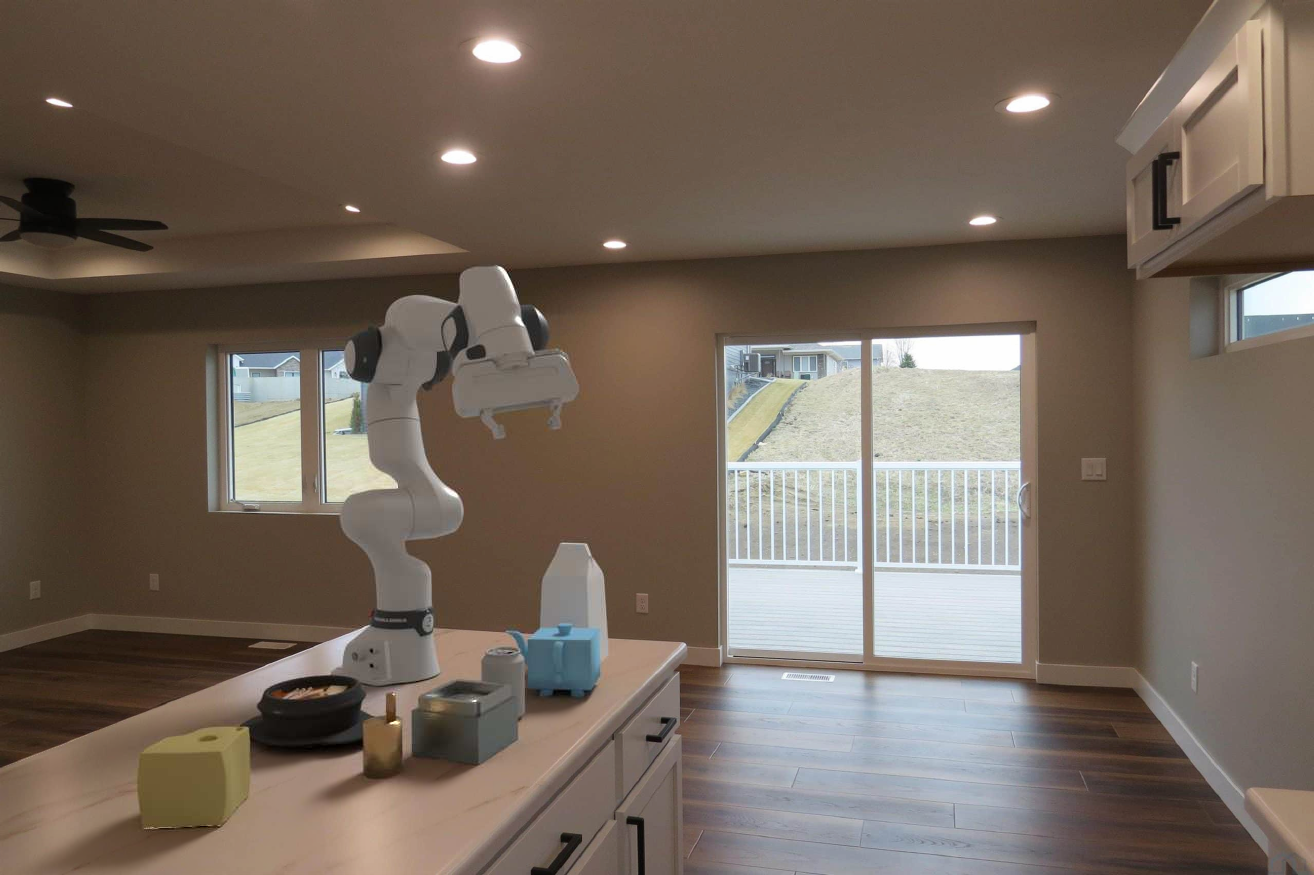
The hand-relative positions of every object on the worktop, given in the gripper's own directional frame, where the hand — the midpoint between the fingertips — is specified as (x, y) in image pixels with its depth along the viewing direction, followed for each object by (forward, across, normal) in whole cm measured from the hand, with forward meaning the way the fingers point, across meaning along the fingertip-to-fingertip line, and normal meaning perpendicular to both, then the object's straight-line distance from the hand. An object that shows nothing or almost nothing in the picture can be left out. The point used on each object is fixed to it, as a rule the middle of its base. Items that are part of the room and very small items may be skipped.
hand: (528, 432), depth 139 cm
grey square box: (+43, +16, -23) cm, 51 cm away
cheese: (+40, +54, -14) cm, 69 cm away
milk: (+33, -19, -63) cm, 74 cm away
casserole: (+34, +37, -38) cm, 63 cm away
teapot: (+38, -7, -46) cm, 60 cm away
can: (+40, +7, -34) cm, 53 cm away
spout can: (+42, +30, -18) cm, 55 cm away
